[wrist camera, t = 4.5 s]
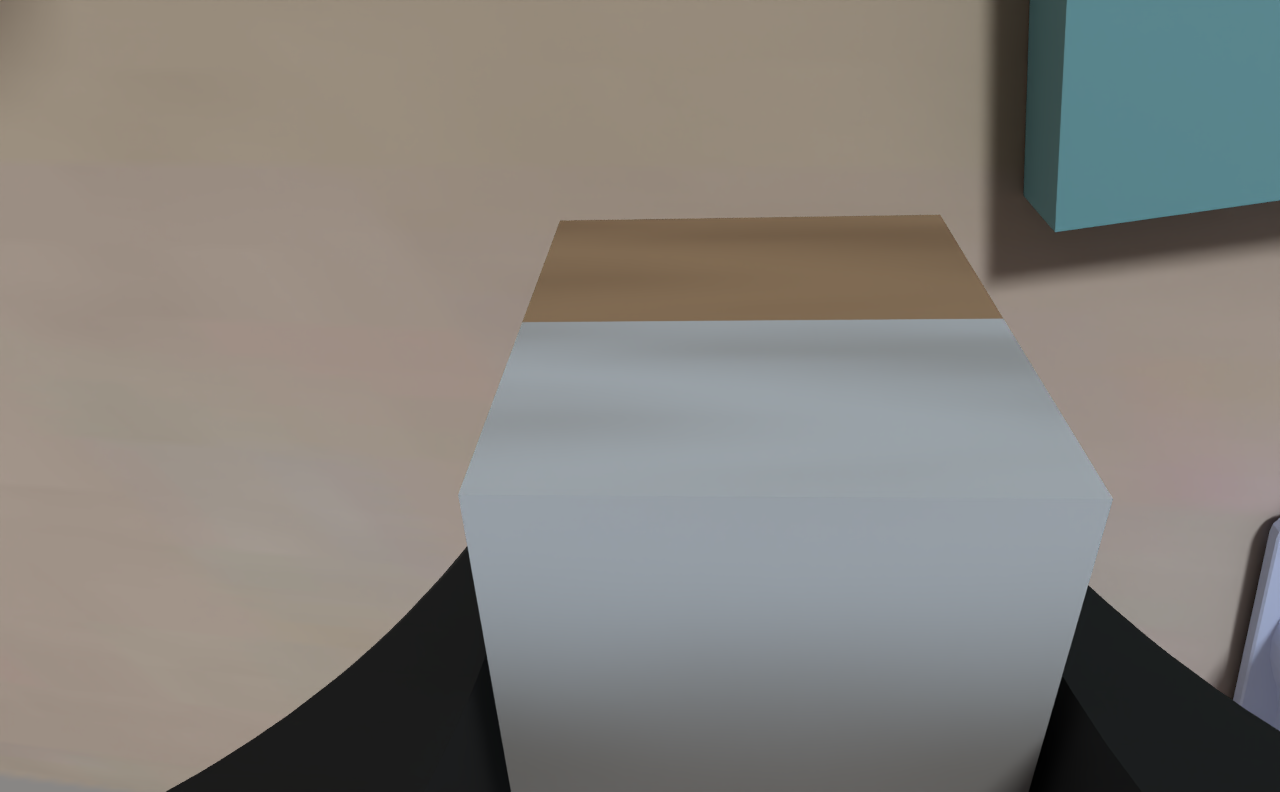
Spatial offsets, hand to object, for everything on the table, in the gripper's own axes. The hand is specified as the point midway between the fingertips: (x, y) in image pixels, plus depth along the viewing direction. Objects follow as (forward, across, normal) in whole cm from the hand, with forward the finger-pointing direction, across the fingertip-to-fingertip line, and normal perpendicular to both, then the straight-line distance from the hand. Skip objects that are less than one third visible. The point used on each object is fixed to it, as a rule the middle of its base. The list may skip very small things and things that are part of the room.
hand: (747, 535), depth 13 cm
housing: (+2, 0, 0) cm, 2 cm away
